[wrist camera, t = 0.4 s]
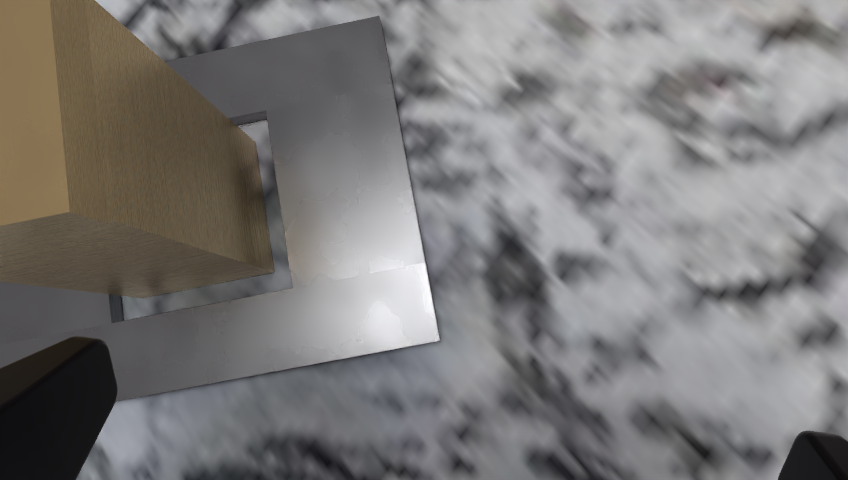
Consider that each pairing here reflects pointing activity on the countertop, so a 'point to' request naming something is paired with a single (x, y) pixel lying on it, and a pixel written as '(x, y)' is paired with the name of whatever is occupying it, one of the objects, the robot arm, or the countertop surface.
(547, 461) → the countertop surface
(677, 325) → the countertop surface
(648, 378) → the countertop surface
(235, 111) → the grey plate with hole
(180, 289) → the tan square peg
